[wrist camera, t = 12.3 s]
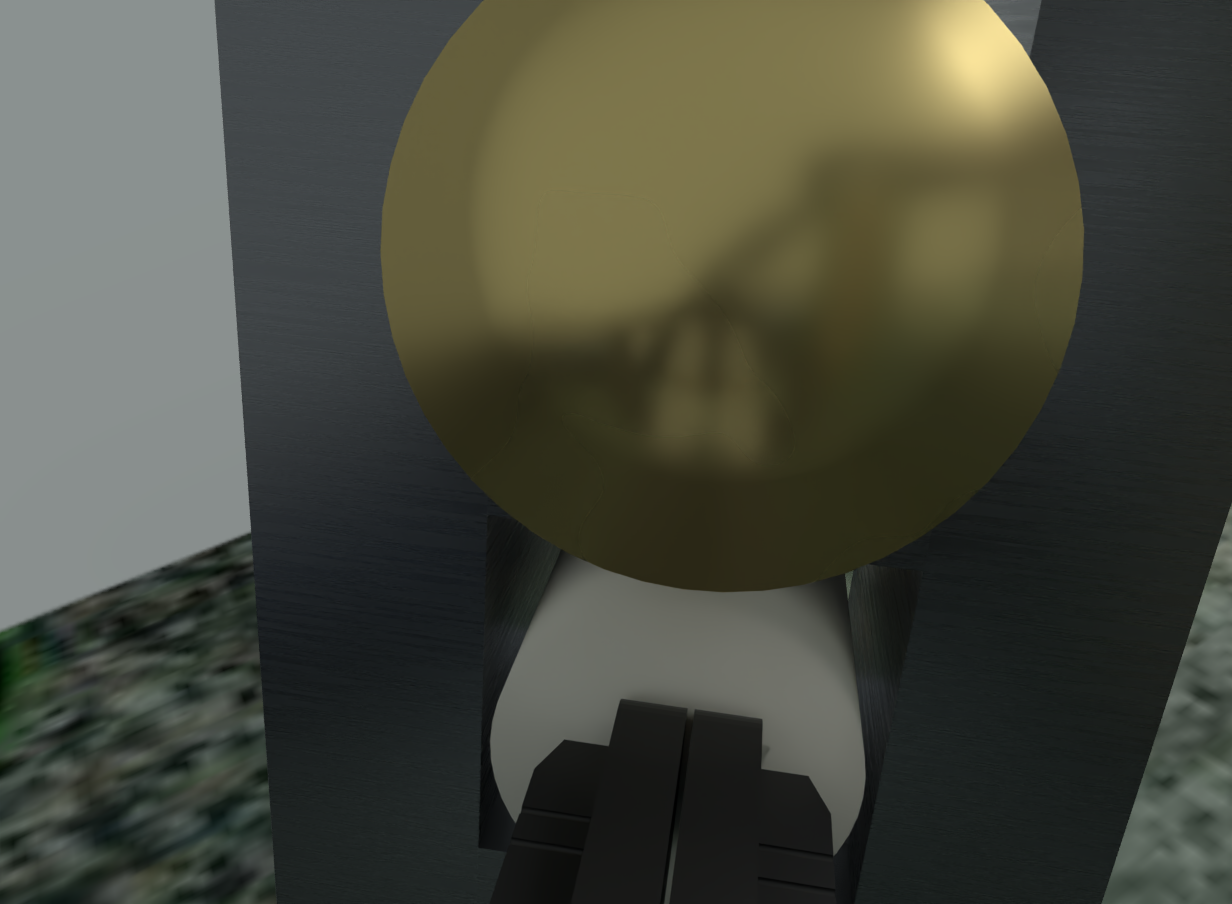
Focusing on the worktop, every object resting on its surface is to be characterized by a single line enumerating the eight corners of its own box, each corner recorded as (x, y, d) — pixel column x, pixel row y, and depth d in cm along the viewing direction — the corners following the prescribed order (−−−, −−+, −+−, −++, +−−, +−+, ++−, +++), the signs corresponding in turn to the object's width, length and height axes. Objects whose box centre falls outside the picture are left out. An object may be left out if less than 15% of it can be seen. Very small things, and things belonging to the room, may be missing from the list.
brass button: (558, 316, 13) (577, -59, 11) (903, 353, 12) (972, -31, 11) (385, 549, 7) (375, -128, 6) (1000, 632, 7) (1172, -76, 5)
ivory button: (577, 614, 18) (592, 389, 16) (818, 648, 17) (857, 419, 16) (485, 881, 12) (495, 579, 11) (835, 939, 12) (895, 634, 10)
